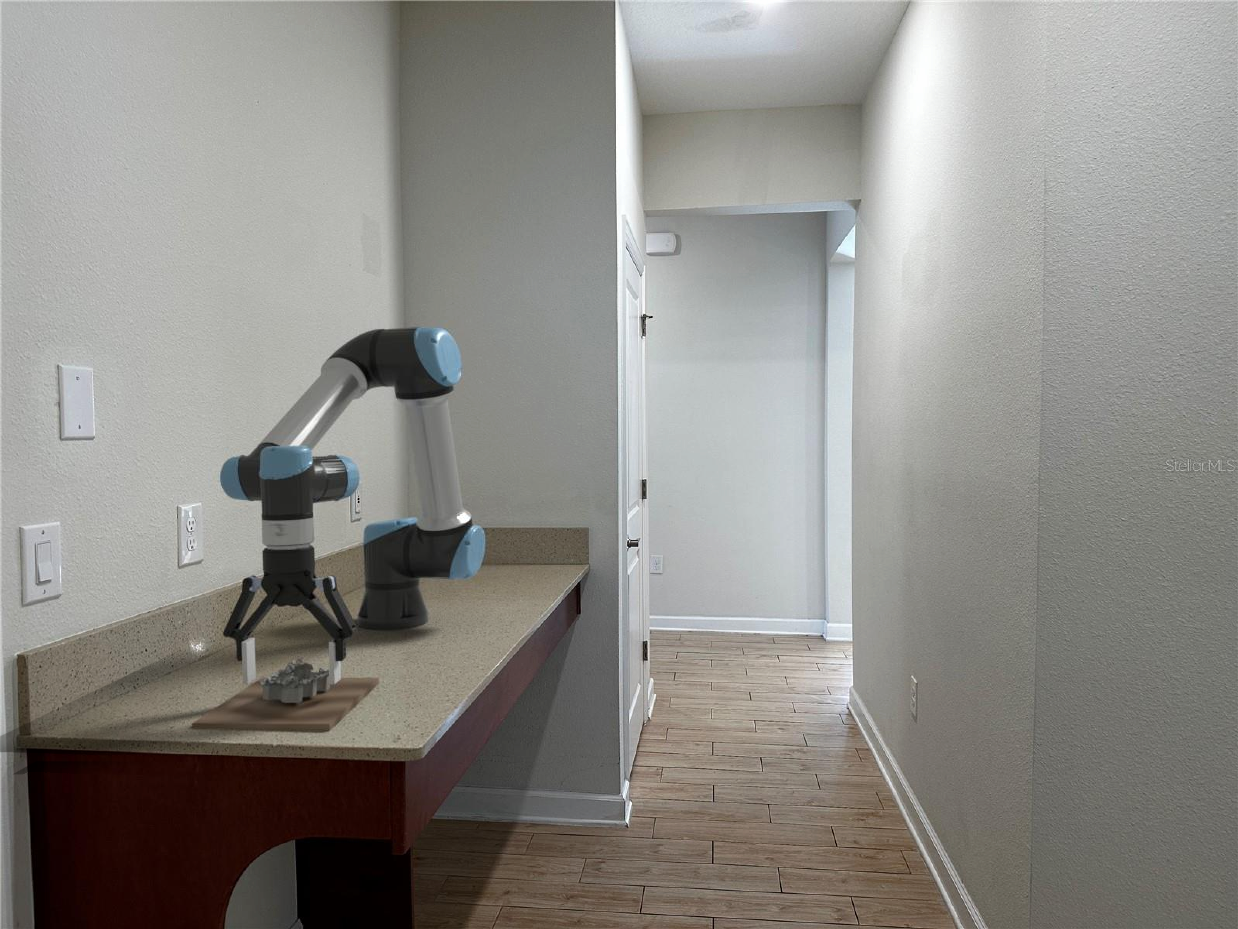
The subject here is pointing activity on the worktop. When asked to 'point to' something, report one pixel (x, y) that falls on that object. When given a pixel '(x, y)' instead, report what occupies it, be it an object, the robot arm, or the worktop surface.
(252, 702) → the walnut board
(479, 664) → the worktop surface
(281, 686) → the egg carton
